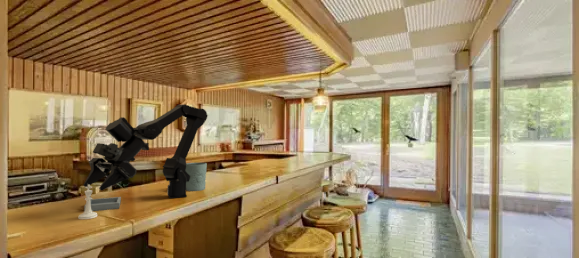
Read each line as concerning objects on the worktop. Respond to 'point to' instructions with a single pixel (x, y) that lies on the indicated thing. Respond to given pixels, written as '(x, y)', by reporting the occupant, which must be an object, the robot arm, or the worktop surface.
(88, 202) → the chess piece
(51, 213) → the worktop surface
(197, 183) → the grey cylinder
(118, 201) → the tray
